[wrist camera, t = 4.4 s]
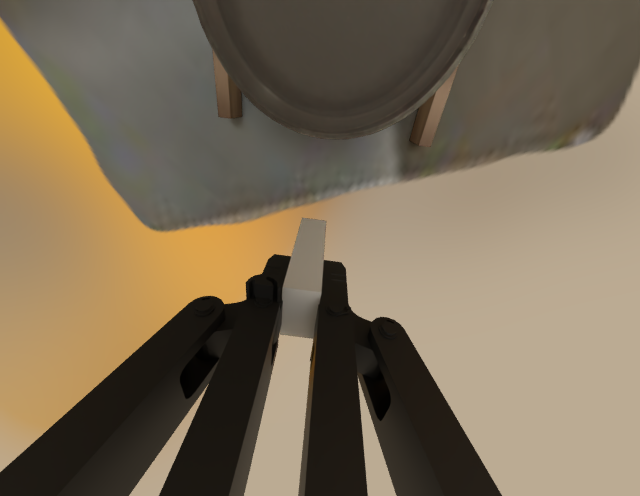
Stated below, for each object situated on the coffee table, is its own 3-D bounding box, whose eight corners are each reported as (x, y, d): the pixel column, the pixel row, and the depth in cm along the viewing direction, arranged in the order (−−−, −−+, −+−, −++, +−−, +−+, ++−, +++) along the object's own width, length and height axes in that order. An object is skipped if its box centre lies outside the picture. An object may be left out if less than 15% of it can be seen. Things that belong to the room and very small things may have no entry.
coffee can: (283, 122, 22) (226, 147, 10) (263, -39, 17) (98, -366, 5) (394, 115, 22) (469, 131, 10) (409, -57, 16) (619, -490, 4)
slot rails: (215, -138, 15) (191, -188, 12) (493, -91, 15) (525, -130, 13) (231, 115, 22) (218, 116, 20) (419, 142, 23) (430, 147, 20)
